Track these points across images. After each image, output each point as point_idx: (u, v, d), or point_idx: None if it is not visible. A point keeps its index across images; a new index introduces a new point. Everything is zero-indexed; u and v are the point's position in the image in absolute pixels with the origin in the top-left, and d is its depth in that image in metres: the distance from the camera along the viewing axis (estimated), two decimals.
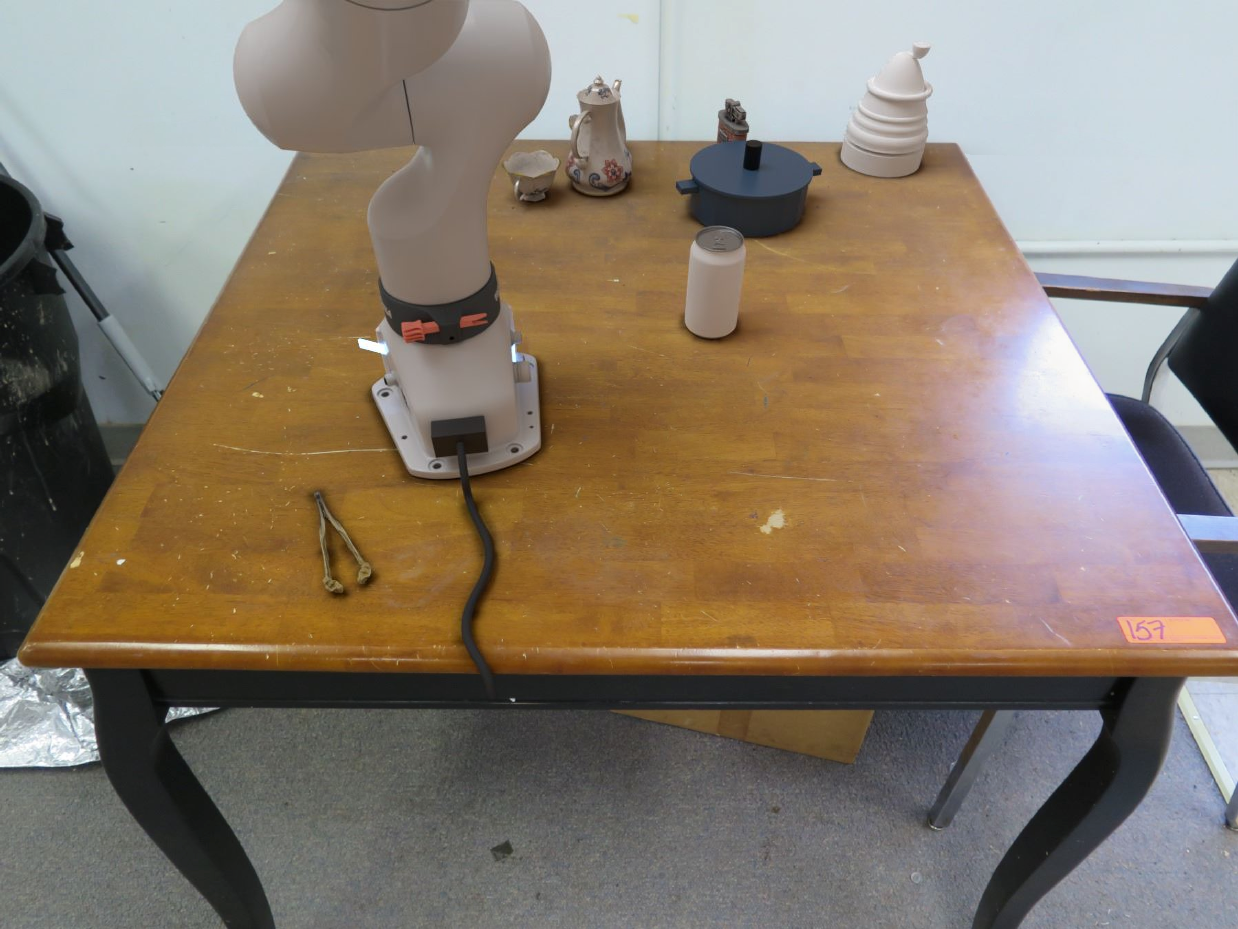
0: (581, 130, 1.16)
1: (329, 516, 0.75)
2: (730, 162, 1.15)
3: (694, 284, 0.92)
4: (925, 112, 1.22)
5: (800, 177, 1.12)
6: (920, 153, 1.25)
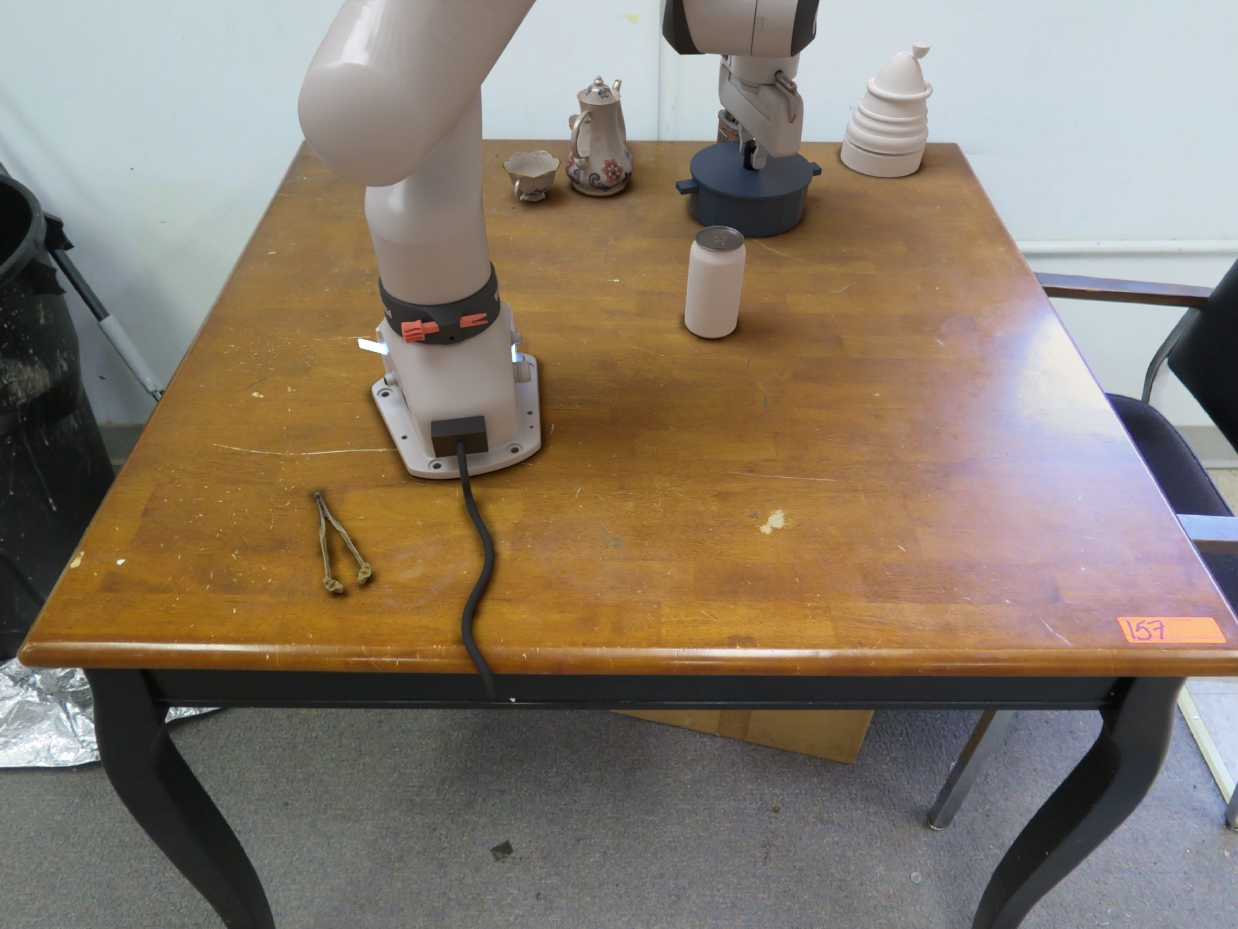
0: (581, 130, 1.16)
1: (329, 516, 0.75)
2: (730, 162, 1.15)
3: (694, 284, 0.92)
4: (925, 112, 1.22)
5: (800, 177, 1.12)
6: (920, 153, 1.25)
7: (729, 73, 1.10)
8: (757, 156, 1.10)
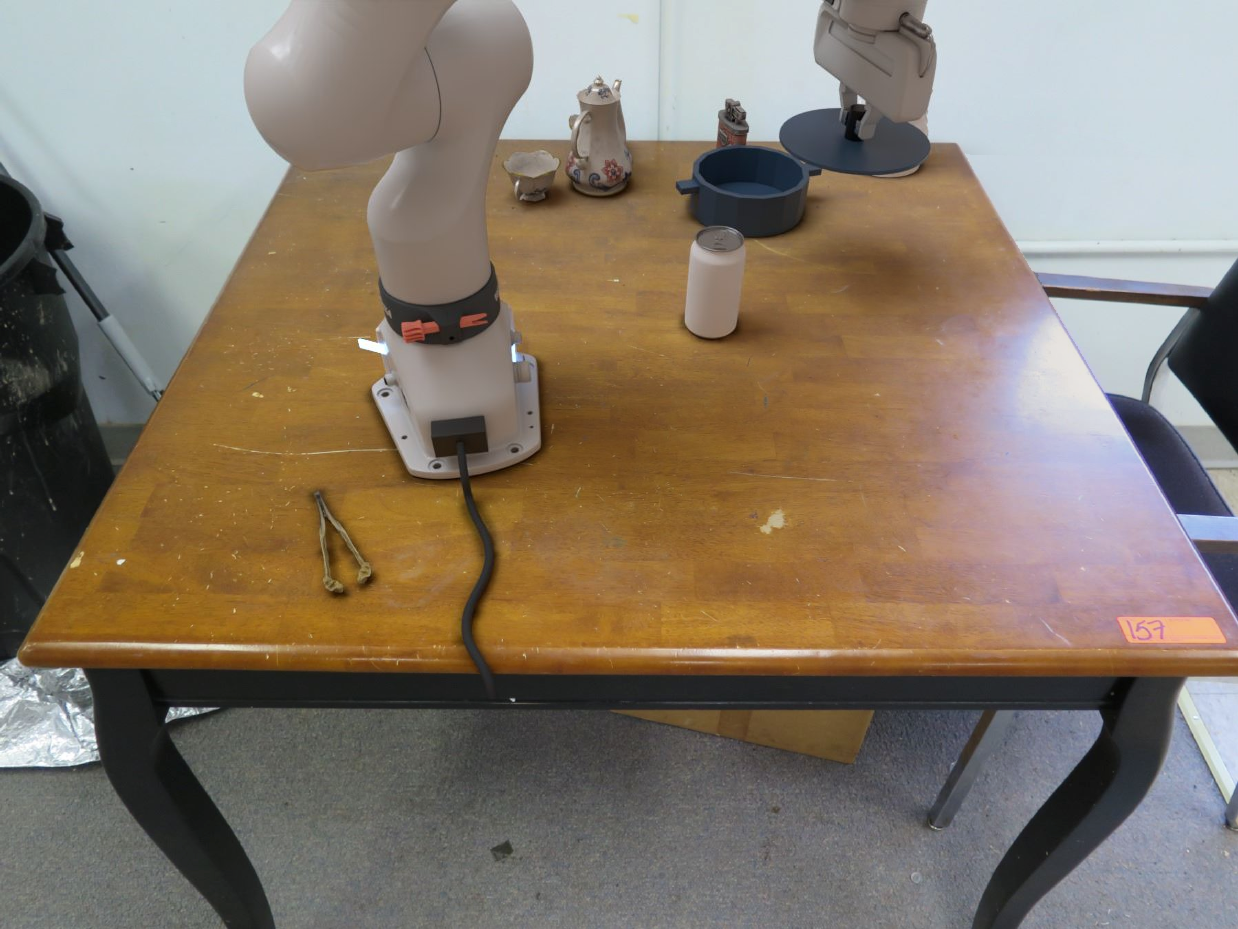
0: (581, 130, 1.16)
1: (329, 516, 0.75)
2: (828, 132, 0.95)
3: (694, 284, 0.92)
4: None
5: (916, 149, 0.92)
6: None
7: (831, 23, 0.91)
8: (866, 123, 0.90)
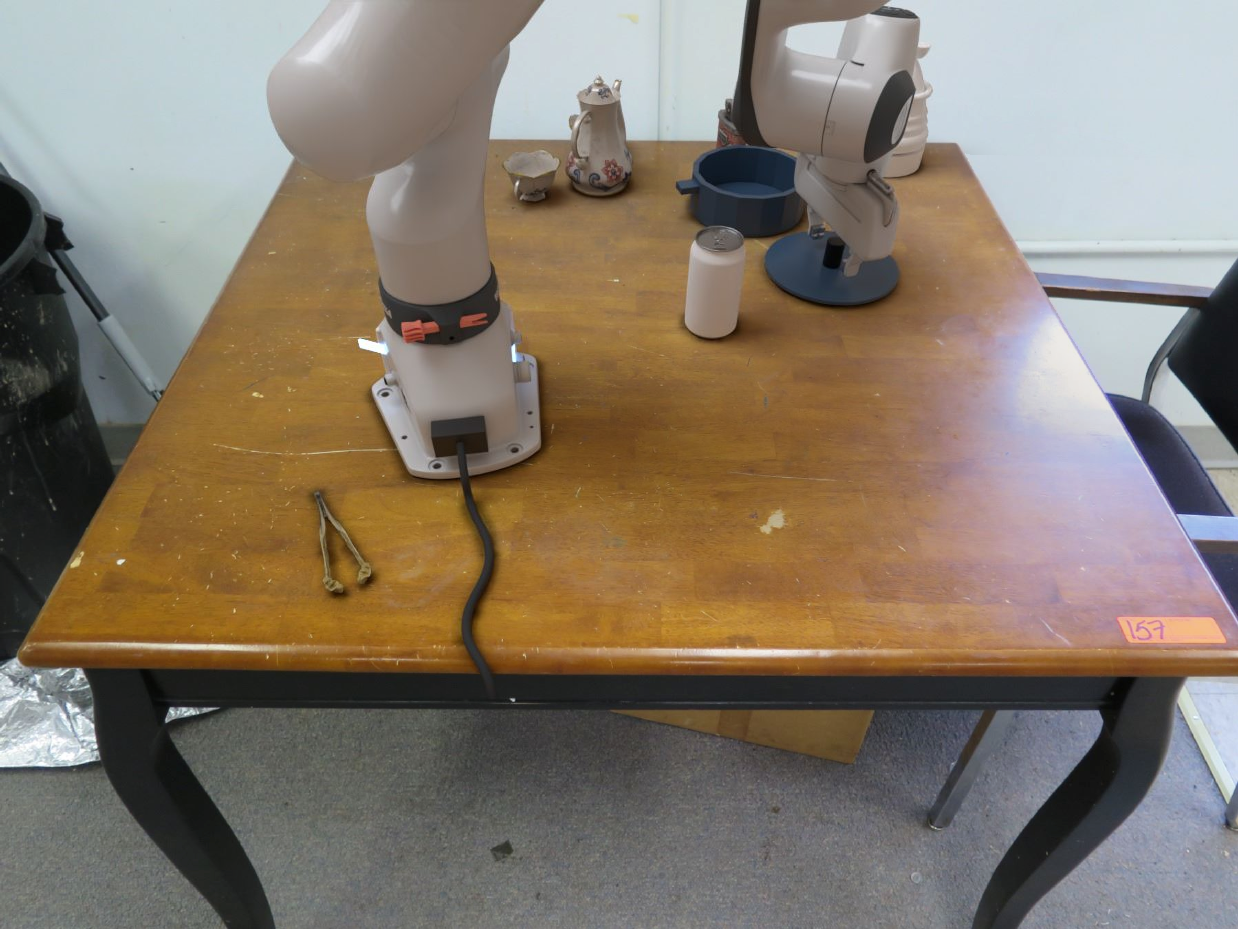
0: (581, 130, 1.16)
1: (329, 516, 0.75)
2: (808, 258, 1.07)
3: (694, 284, 0.92)
4: (925, 112, 1.22)
5: (886, 277, 1.04)
6: (920, 153, 1.25)
7: (809, 162, 1.02)
8: (850, 264, 1.00)
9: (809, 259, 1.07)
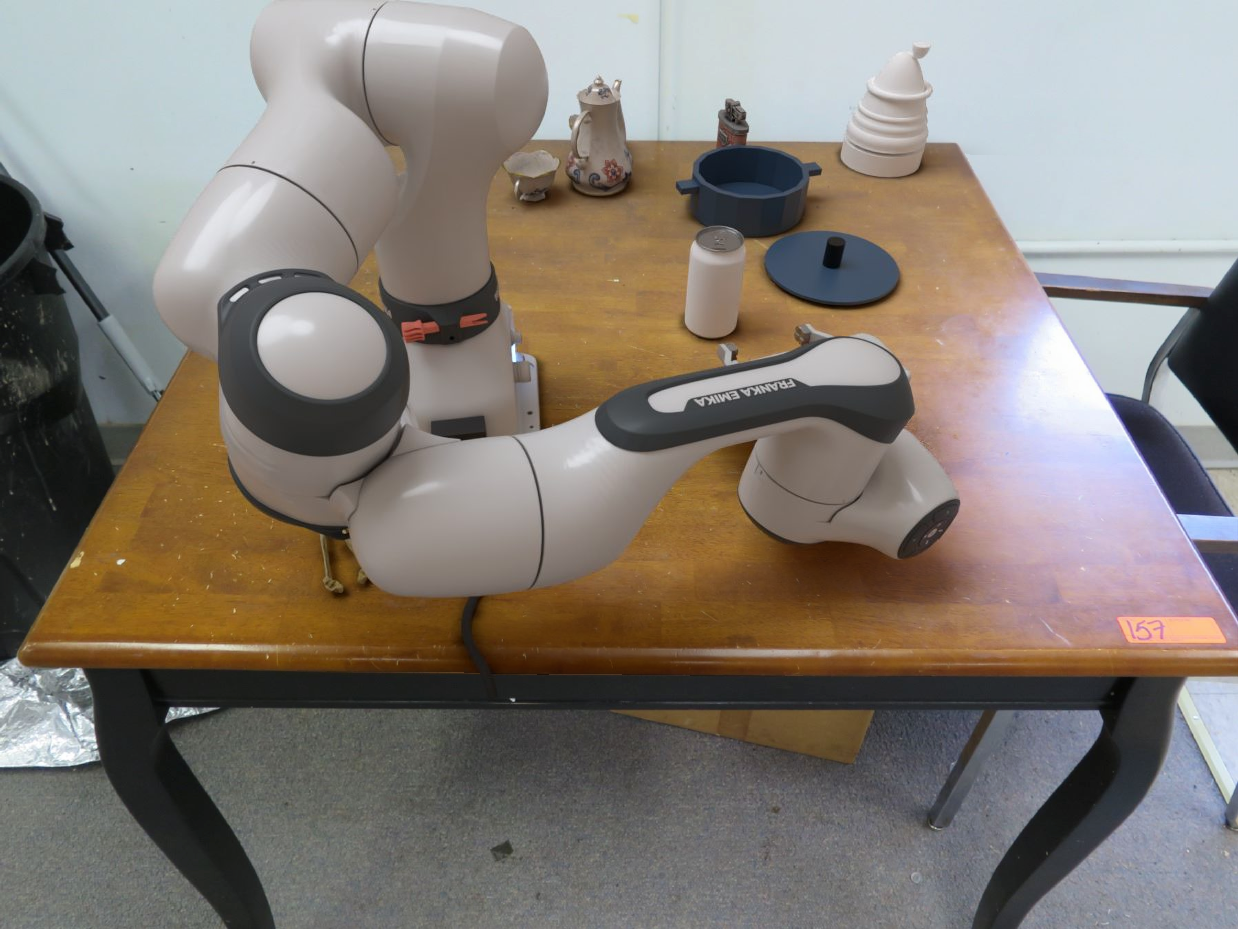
0: (581, 130, 1.16)
1: None
2: (808, 258, 1.07)
3: (694, 284, 0.92)
4: (925, 112, 1.22)
5: (886, 277, 1.04)
6: (920, 153, 1.25)
7: None
8: (724, 355, 0.82)
9: (809, 259, 1.07)
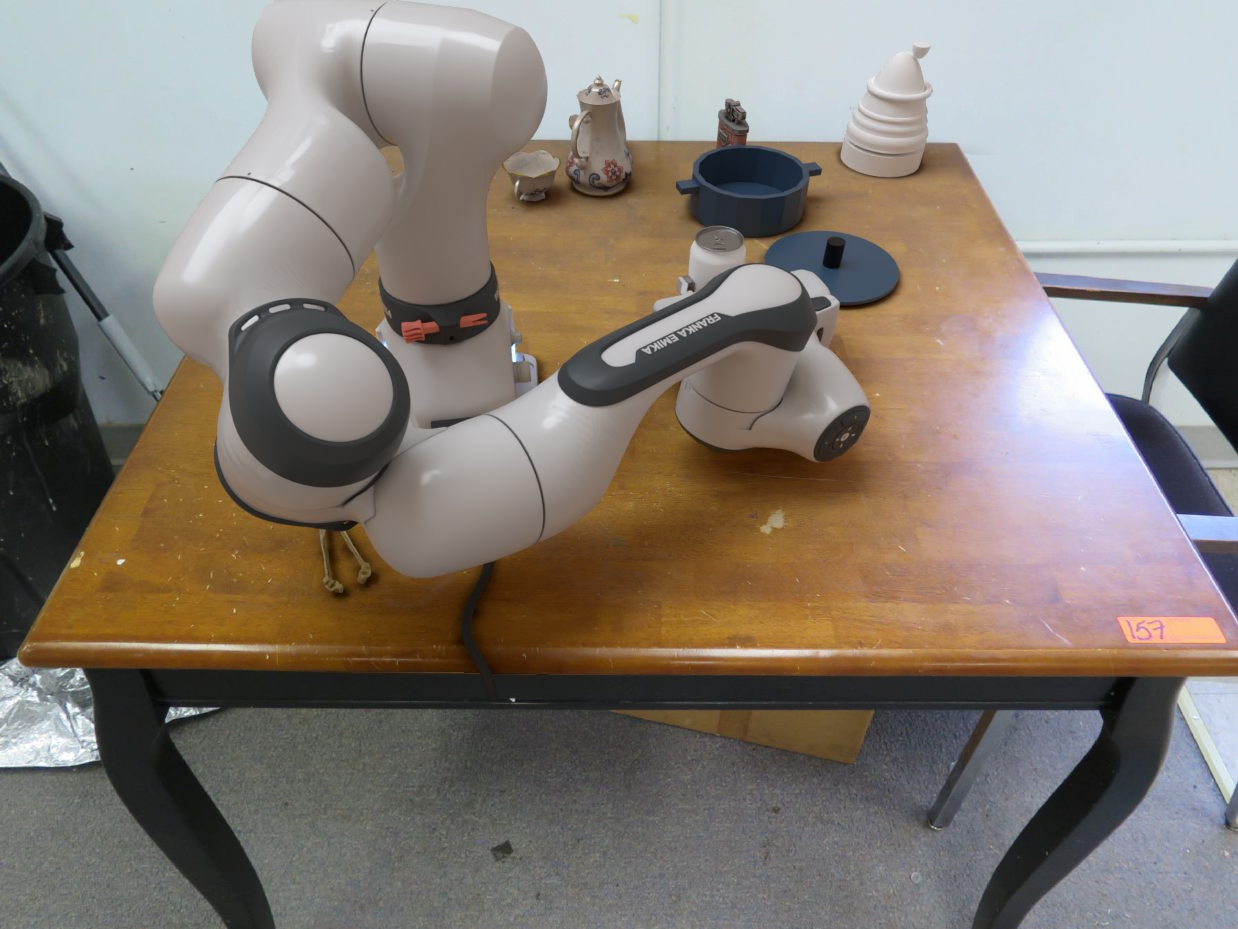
0: (581, 130, 1.16)
1: None
2: (808, 258, 1.07)
3: (694, 284, 0.92)
4: (925, 112, 1.22)
5: (886, 277, 1.04)
6: (920, 153, 1.25)
7: None
8: (681, 286, 0.91)
9: (809, 259, 1.07)
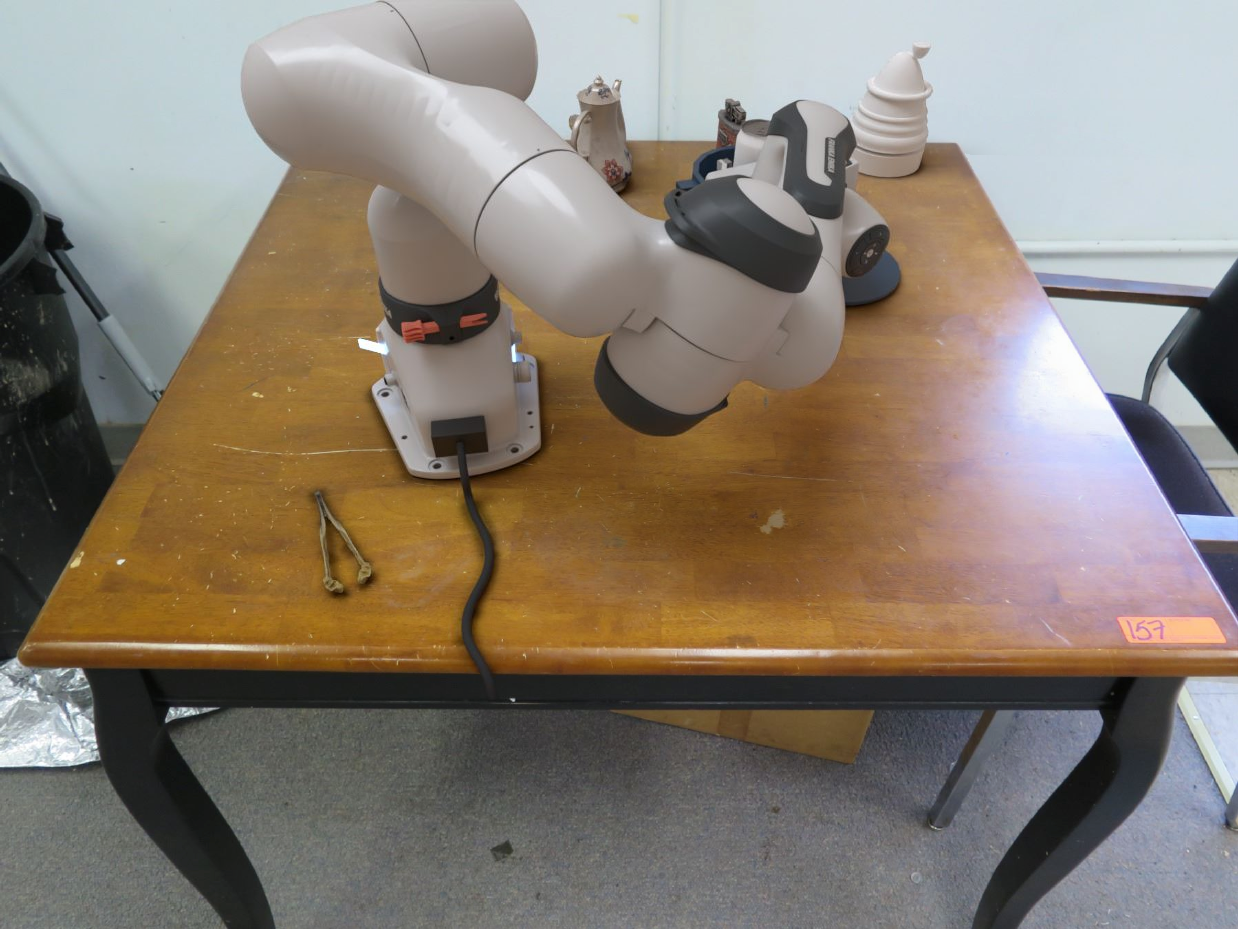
0: (581, 130, 1.16)
1: (329, 516, 0.75)
2: None
3: None
4: (925, 112, 1.22)
5: (887, 277, 1.04)
6: (920, 153, 1.25)
7: None
8: (721, 166, 1.10)
9: None
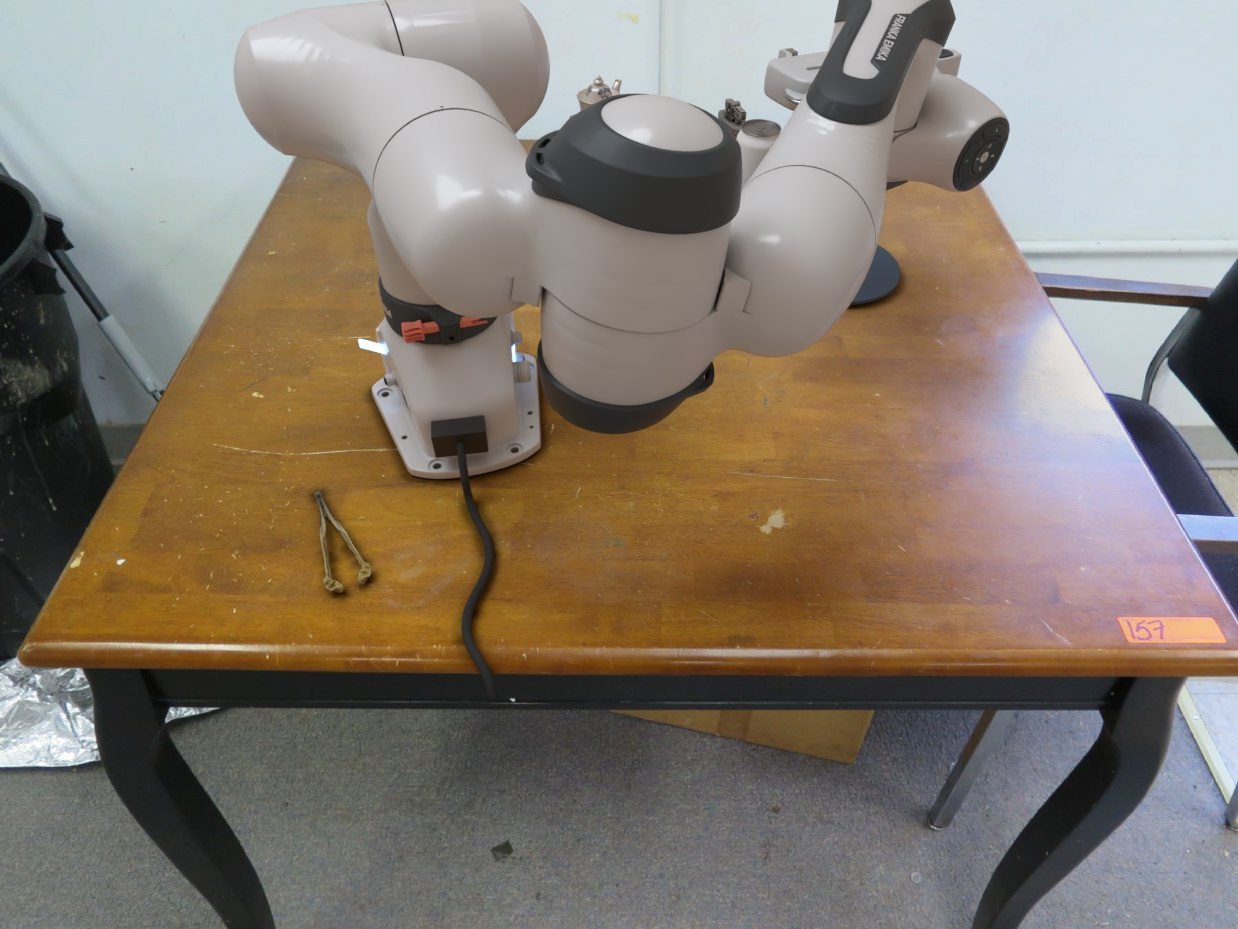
0: None
1: (330, 516, 0.75)
2: None
3: None
4: None
5: (887, 277, 1.04)
6: None
7: None
8: (785, 56, 0.89)
9: None
